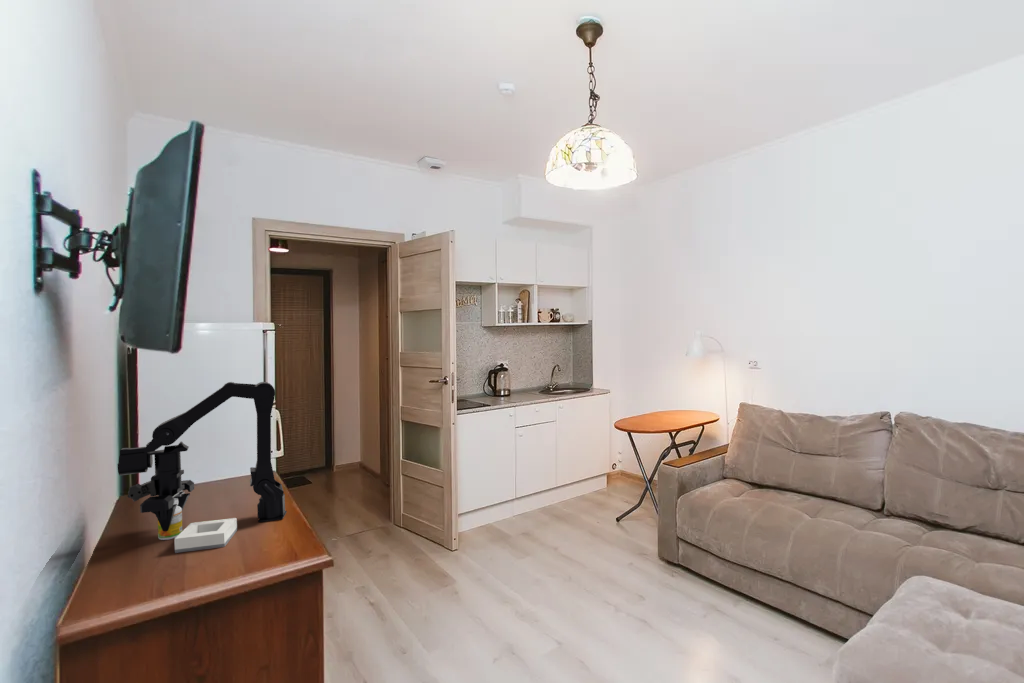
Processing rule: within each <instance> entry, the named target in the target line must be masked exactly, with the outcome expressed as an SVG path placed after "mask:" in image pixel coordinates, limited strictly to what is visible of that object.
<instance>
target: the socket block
mask: <svg viewBox="0 0 1024 683" xmlns="http://www.w3.org/2000/svg"><path fill="white" fill-rule="evenodd" d="M237 531H238V520H237V517H230V518H224V519H215V520H214V519H213V520H205V521H195V522H190V523H189V524H188V525H186V527H185V528H184V529H183V531H182V532H181V533H180V534H179V535H178V536H177V537H176V538H174V554H177V553H186V552H194V551H201V550H209V549H217V548H225V547H226V545H227V544H228V543H229V542H230V541H231V540H232V538H233V537H234V535H235V534H236V533H237Z"/></svg>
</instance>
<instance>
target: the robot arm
mask: <svg viewBox="0 0 1024 683" xmlns="http://www.w3.org/2000/svg"><path fill="white" fill-rule="evenodd" d="M233 397H235V398H243V399H251V400H253V402H254V407H255V411H256V463H255V467H253V466H252V467H250V468H249V471H250V480H249V487H252V488H253V491H254V493H255V494H257V495H258V496H260V498H259V500H258V503H257V519H258V520H257V521H258V523H263V522H264V523H265V522H272V521H281V520H283V519H284V518H285V516H286V514H287V510H286V499H285V498H286V496H285V490H284V488H283V485H282V483H280V482H279V481H278V480H276V479H275V474H274V470H273V464H272V433H271V432H272V428H271V427H272V416H271V415H272V412H273V406H274V402H275V397H276V390H275V387H274V386H273V385H272V384H271V383H269V382H268V381H261V382H257V383H255V384H254V383H240V382H239V383H238V382H233V381H229V382H226V383H224V384H223V385H222V387H220V388H219V389H217V390H215V391H214V392H212V393H211V394H210V395H208V396H207V397H206V398H204V399H202V400H201V401H200V402H198V403H197V404H195V405H193V406H192V407H191V408H190V409H188V410H187V411H185V412H183V413H180V414H178V415H176V416H174V417H171V418H169V419H167V420H165V421H163V422H161V423H160V424H158V426H156V427H155V428H154V430H152V436H151V438H152V439H151V440H150V441H148V442H147V444H145V446H138V447H122V448H121V449H120V450H119V456H118V463H117V472H118V473H117V474H118V475H119V476H127V475H134V474H135V475H136V474H142V473H143V474H144V473H147V472H148V470H149V469H150V468H153V460H154V475H152V476H151V477H150V480H149V481H146V482H143V483H141V484H140V483H137V484H135V485H131V486H130V487H129V489H128V491H127V494H128V495H127V498H129V499H131V500H132V501H133V502H134V503H135V502H137V501H139V500H140V499H142V498H144V497H147V496H149V495H150V496H149V497H148V498H146V499H145V500H144V501H142V502H141V503H140V505H139V509H140V510H139V512H140V513H142V514H143V513H152V514H154V515H155V517H156V519H157V522H158V521H159V523H160V525H161V528H162V530H163V531H168V530H169V527H170V524H171V521H172V518H173V515H174V512H175V509H176V506H180V507H181V508H182V511H183V510H184V508H185V506H186V503H187V501H188V499H189V497H190V496H191V493H192V491H194V490H195V482H194V481H193V480H191V479H187V480H182V475H184V474H185V470H184V469H182V464H181V463H182V459H181V452H187V451H189V447H190V446H188V445H187V444H185V443H184V442H183V441H179V443H178V444H175V445H173V444H174V443H175V442H176V441H177V440H178V439H179V438H180V437H181V436H182V435H183V434H185V433H186V432H187V430H189V428H191V426H193V425H194V424H195V423H197V422H198V421H199V420H200V419H202V418H204V417H205V416H207V415H208V414H209V413H211V412H212V411H213V410H215V409H216V408H218V407H219V406H221V405H222V404H224V403H225V402H227V401H228V400H229V399H231V398H233ZM162 446H163V447H164V448H163V449H160V448H161V447H162ZM153 456H154V457H153ZM153 458H154V459H153ZM148 468H149V469H148ZM186 490H187V493H185V491H186ZM188 492H189V493H188ZM190 492H191V493H190ZM174 498H178V502H179V503H178V505H177V504H174ZM173 504H174V505H173Z"/></svg>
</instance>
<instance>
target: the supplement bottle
mask: <svg viewBox="0 0 1024 683" xmlns="http://www.w3.org/2000/svg"><path fill="white" fill-rule="evenodd" d="M178 503H179V502H178V498H174V504H177V505H178ZM174 504H173V505H174ZM183 530H184V529H183V510H182V508H181V507H180V506H176V509H175V512H174V515H173V518H172V521H171V524H170V527H169V530H168V531H163V530H162V528H161V525H160V523H159V521H158V520H157V538H158V540H161V541H168V540H173V539H175V538H176V537H177V536H178V535H179V534H180V533H181V532H182V531H183Z"/></svg>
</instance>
